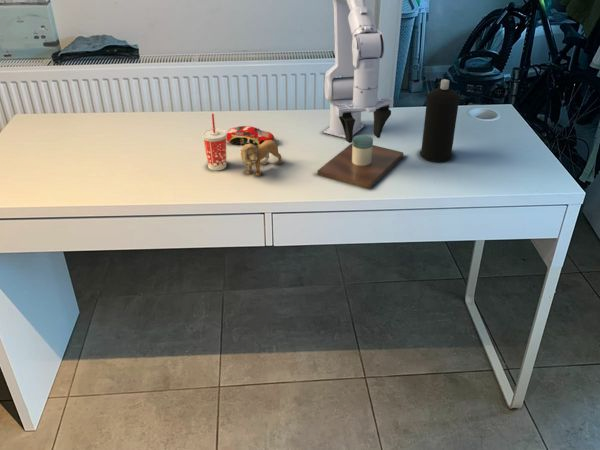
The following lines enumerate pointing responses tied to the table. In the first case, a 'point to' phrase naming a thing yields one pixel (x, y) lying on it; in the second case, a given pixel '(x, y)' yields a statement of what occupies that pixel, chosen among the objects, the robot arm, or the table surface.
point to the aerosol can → (440, 123)
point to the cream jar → (362, 150)
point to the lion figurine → (259, 154)
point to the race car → (248, 135)
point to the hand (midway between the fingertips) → (362, 138)
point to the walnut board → (360, 167)
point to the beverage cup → (215, 147)
